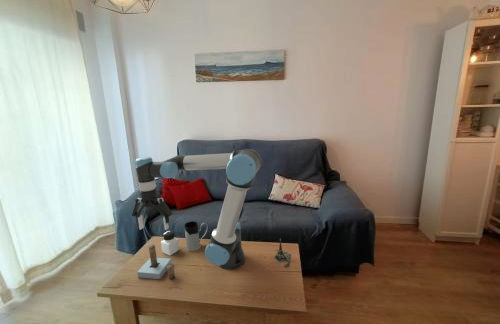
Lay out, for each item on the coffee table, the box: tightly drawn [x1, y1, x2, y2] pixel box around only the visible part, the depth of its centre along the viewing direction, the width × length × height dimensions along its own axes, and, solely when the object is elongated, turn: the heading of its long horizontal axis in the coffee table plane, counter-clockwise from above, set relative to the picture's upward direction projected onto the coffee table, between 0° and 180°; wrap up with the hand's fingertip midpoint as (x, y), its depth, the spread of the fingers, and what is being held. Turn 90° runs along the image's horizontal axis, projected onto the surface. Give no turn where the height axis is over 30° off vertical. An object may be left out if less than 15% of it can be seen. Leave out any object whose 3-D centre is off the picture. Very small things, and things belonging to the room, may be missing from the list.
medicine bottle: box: [160, 230, 180, 256], centre depth 139 cm, size 7×7×12 cm
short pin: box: [166, 264, 175, 280], centre depth 118 cm, size 3×3×6 cm
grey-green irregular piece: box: [273, 237, 292, 269], centre depth 128 cm, size 15×10×13 cm
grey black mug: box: [184, 220, 209, 252], centre depth 143 cm, size 9×14×15 cm, turn 118°
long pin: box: [148, 244, 158, 268], centre depth 123 cm, size 3×3×14 cm
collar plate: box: [136, 257, 173, 280], centre depth 124 cm, size 12×12×3 cm
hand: (154, 228), depth 120 cm, fingers open, 13 cm apart
